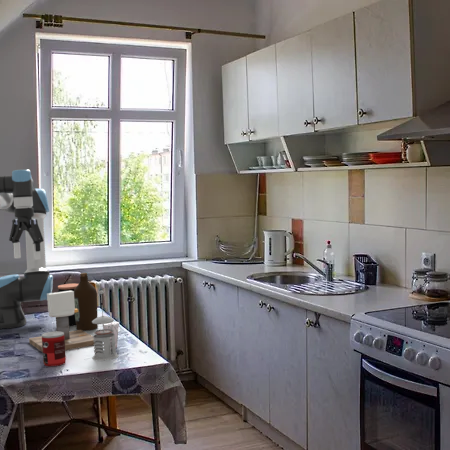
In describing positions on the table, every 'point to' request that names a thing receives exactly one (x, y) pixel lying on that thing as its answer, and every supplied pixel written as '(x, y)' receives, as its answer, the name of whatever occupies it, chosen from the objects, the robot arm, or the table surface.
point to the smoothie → (113, 329)
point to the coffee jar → (69, 288)
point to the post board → (72, 338)
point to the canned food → (53, 348)
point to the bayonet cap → (61, 304)
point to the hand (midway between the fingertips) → (27, 258)
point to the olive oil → (85, 304)
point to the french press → (104, 339)
